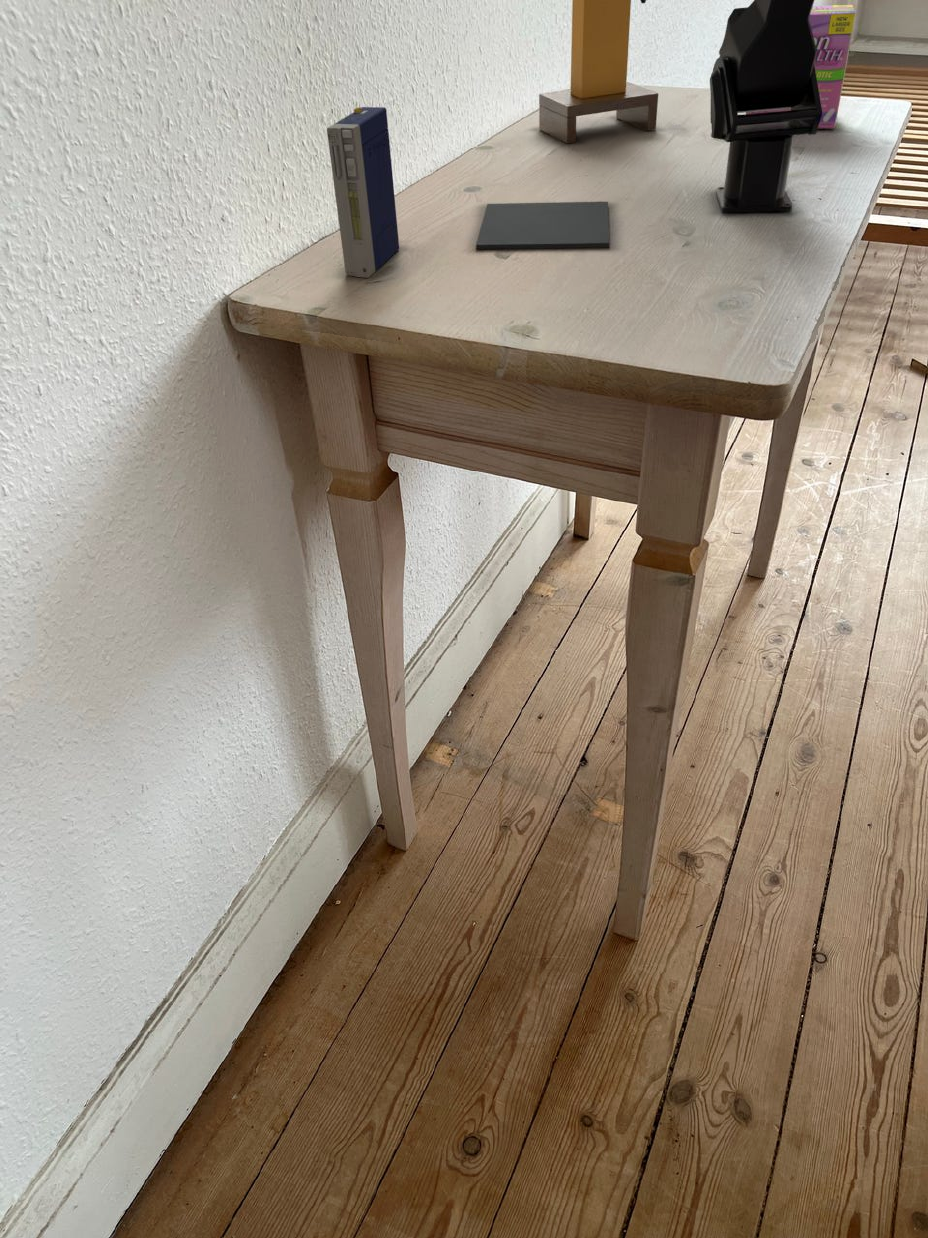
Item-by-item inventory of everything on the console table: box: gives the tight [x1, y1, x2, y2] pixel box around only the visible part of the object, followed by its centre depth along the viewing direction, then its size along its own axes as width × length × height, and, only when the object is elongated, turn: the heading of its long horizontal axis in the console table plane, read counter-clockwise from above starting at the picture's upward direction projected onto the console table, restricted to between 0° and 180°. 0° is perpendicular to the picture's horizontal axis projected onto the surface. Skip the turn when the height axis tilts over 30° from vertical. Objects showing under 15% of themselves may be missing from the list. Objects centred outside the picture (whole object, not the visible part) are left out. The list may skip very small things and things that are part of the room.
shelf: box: [538, 81, 659, 144], centre depth 114 cm, size 8×12×4 cm, turn 111°
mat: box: [475, 201, 610, 250], centre depth 89 cm, size 12×12×1 cm
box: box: [745, 4, 856, 130], centre depth 109 cm, size 10×6×12 cm, turn 76°
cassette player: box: [326, 106, 400, 279], centre depth 80 cm, size 7×2×12 cm, turn 162°
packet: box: [570, 0, 632, 99], centre depth 110 cm, size 3×6×10 cm, turn 111°
